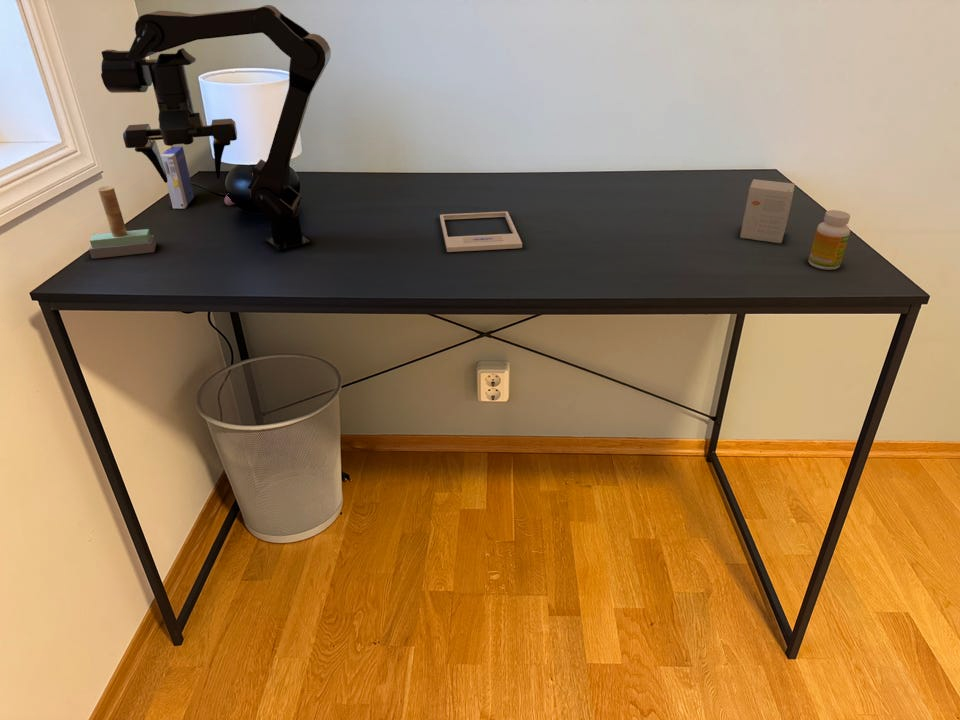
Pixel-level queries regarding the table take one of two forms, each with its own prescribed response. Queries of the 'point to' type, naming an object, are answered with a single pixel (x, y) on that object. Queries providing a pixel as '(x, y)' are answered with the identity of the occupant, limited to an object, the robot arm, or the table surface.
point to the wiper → (118, 232)
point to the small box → (767, 210)
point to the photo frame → (480, 240)
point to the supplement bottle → (830, 241)
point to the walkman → (177, 177)
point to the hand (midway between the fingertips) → (192, 179)
